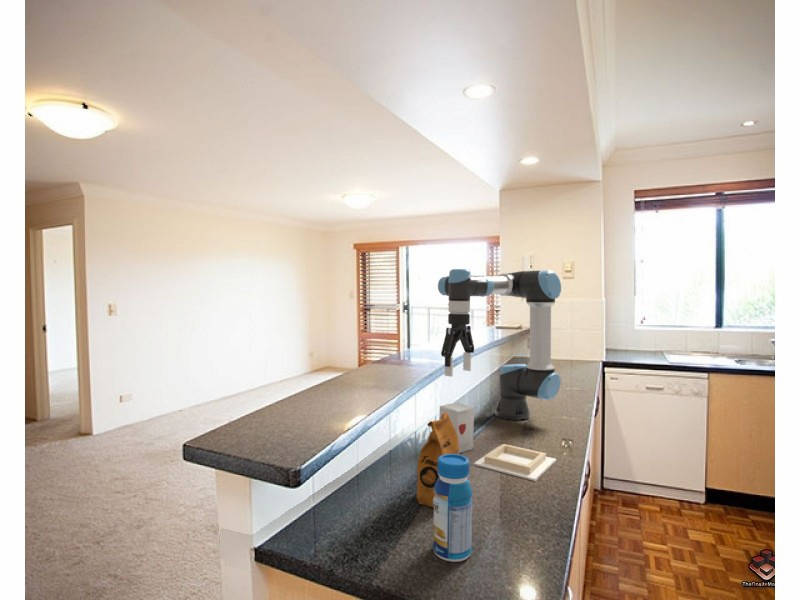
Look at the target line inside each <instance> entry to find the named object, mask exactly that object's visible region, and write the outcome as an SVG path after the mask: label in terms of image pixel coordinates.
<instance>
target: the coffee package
mask: <svg viewBox="0 0 800 600" xmlns="http://www.w3.org/2000/svg"><path fill="white" fill-rule="evenodd" d="M427 427H429V428H430V429H431V431H430V432H429V436H428V439H427V441H426V442H425V444H424V445H423V446H422V448H421V450H420V452H419V455H418V459H417V465H416V466H417V467H416V468H417V469H416V470H417V485H416V499H417V501H418V504H420V505H425V506H426V507H430V508H433V509H434V507H433V498H434V496H435V493H434V486H435V483H436V481H437V479H438V478H439V477H440V476H439V475H438V471H437V463H438V458H439V457H440V456H442V455H445V454H458V455H461V453H459V442H458V435H457V433H456V430H455V428H454V426H453V424H452V422H451V420H450V418H449V416H448V413H443V414H442V416H441V419H440V420H439V419H437V420H432V421H431V420H430V421H429V422H428V423H427Z"/></svg>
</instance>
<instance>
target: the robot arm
mask: <svg viewBox="0 0 800 600" xmlns="http://www.w3.org/2000/svg"><path fill="white" fill-rule="evenodd" d="M559 277H560V276H558V274H557V273H556V272H554V270H553V271H552V270H543V269H541V270H521V271H515V272H510V273H500V274H498V275H471V270H470V269H466V268H453V269H450V270H449V274H448V275H447V276H443V277H441V278H440V279H439V280H438V283H437V290H438V292H439V294H441V295H442V296H446V297H448V304H447V306H448V312H449V313H448V314H447V315H448V319H447V323H448V324H449V325H451V327H445V328H446V329H445V337H444V340H443V343H442V344H443V345H442V347H441V353H440V355H441V357H444V377H451V378H453V372H454V371H453V370H454V367H453V366H454V365H453V363H454V357H453V353H454V351H455V348H456V346H457V343H458V342H459V341H460V344H461V345H462V349H463V350H464V352H463V353H462V354H463V360H462V361H463V362H462V363H463V364H462V365H463V366H462V368H463V371H467V372H471V370H472V354H473V353H474V352H475V345H474V340H473V336H472V331H471V328H472V327H471V325H469V324H470V321H471V317H470V314H469V313H470V312H471V297H483V298H484V297H488V296H490V295H500V296H504V297H514V298H522V299H525V301H526V304H527V305H528V306H529V361H528V362H529V363H527V364H525V363H512V364H503V365H502V366H501V367H500V369H499V397H498V398H499V399H498V402H497V404H496V407H495V413H494V415H495V416H496V418H497V417H498V418H500V419H503V420H508V419H510V420H509V421H522V420H521V419H526V420H528V419H527V418H529V417H530V418H531V411H530V408H529V404H528V400H527V397H531V398H535V399H539V400H545V401H551V400H553V399H554V398H555V397H556V396H558V393H559V391H560V388H561V382H562V381H561V380H562V379H561V377H560V375H559V374H558V373H557V372H555V371H556V370H555V366H554V365H553V364H552V306H553V305H555V303H556V299H557V298H559V297H560V295H561V292H562V283H561V280H560V278H559ZM530 418H529V419H530Z"/></svg>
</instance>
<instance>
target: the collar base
mask: <svg viewBox="0 0 800 600" xmlns="http://www.w3.org/2000/svg"><path fill="white" fill-rule="evenodd" d="M555 462H557V458H555V457H548V456H547V453H546V452H543V451H538V450H533V449H530V448H529V449H528V448H524V447H519V446H514V445H510V444H507V443H503V444H501V445H499V446H497V447H495V448H494V449H492V450H491V451H490V452H488V453H487V454H485V455H483V456H482V457H481V458H479V459H478V460H476V461H475V462H474V463H473V466H477V467H480V468H484V469H488V470H492V471H496V472H499V473H503V474H507V475H510V476H515V477H518V478H521V479H525V480H530V481H532V482H537V480H538V479H539V478H540V477H541V476H542V475H543V474H545V472H546V471H547V470H548V469H549V468H550V467H552V465H553V464H554V463H555Z"/></svg>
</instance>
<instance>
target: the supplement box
mask: <svg viewBox="0 0 800 600" xmlns="http://www.w3.org/2000/svg"><path fill="white" fill-rule="evenodd" d="M443 413H448V416H449V418H450V420H451V422H452V424H453V426H454V428H455V430H456V433H457V435H458V442H459V454H462V453H465V452H467V451H470V450H473V449H474V431H475V430H474V427H475V425H474V424H475V423H474V422H475V421H474V420H475V407H473V406H471V405H467V404H464V403H460V402H453V403H447V404H444V405H443V404H442V405H439V419H438V420H440V419H441V416H442V414H443Z"/></svg>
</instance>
